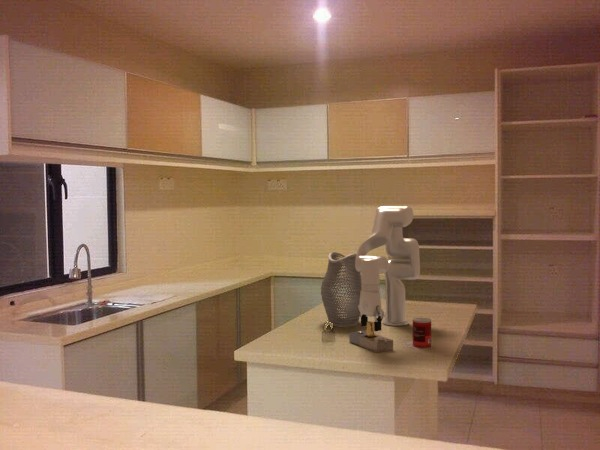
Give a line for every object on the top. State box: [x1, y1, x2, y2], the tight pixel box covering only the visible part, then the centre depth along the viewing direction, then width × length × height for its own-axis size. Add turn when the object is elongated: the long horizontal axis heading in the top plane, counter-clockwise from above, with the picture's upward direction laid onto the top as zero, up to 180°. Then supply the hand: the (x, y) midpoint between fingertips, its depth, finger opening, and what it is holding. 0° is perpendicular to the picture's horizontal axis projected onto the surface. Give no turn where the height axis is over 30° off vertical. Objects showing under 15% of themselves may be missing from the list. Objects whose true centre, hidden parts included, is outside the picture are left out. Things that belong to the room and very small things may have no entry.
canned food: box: [412, 317, 432, 349], centre depth 242 cm, size 8×8×11 cm
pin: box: [366, 320, 375, 338], centre depth 242 cm, size 3×3×10 cm
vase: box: [320, 251, 362, 328], centre depth 286 cm, size 22×22×35 cm
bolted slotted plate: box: [349, 330, 394, 353], centre depth 242 cm, size 20×8×5 cm, turn 28°
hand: (370, 328), depth 242 cm, fingers open, 9 cm apart
